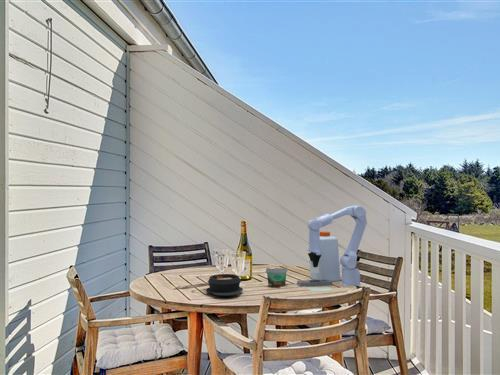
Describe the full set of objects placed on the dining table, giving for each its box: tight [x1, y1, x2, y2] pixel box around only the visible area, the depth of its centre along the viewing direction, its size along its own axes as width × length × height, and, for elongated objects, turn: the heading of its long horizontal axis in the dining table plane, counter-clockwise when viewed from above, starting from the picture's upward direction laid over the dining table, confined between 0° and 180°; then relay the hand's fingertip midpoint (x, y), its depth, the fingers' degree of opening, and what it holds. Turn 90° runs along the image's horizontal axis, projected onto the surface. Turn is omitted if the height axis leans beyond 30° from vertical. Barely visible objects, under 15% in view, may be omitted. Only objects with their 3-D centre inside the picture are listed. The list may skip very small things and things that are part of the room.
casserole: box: [205, 273, 244, 297], centre depth 197 cm, size 25×19×8 cm
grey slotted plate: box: [296, 279, 333, 288], centre depth 213 cm, size 18×6×3 cm, turn 98°
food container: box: [265, 266, 289, 288], centre depth 211 cm, size 12×6×10 cm, turn 105°
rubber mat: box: [307, 286, 334, 292], centre depth 203 cm, size 12×8×1 cm, turn 98°
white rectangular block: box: [308, 261, 319, 274], centre depth 213 cm, size 4×3×6 cm, turn 98°
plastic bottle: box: [310, 231, 342, 282], centre depth 229 cm, size 15×15×28 cm
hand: (314, 266), depth 213 cm, fingers closed on white rectangular block, 3 cm apart
